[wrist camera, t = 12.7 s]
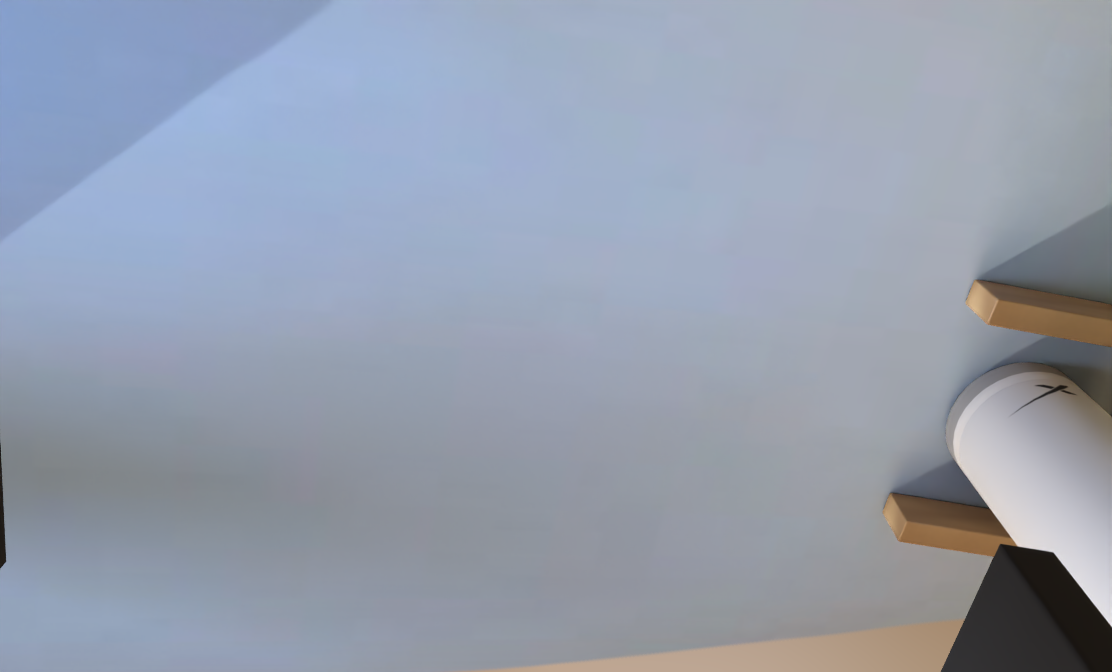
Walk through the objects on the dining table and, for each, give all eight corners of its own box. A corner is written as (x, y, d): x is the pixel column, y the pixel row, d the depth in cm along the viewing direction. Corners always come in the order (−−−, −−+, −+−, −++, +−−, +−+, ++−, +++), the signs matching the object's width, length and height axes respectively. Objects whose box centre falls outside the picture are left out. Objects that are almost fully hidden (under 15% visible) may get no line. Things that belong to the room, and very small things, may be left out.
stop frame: (974, 278, 42) (997, 299, 40) (1186, 317, 43) (1220, 340, 41) (881, 512, 47) (898, 542, 45) (1073, 543, 48) (1098, 573, 46)
